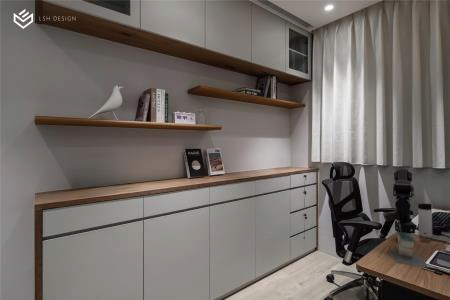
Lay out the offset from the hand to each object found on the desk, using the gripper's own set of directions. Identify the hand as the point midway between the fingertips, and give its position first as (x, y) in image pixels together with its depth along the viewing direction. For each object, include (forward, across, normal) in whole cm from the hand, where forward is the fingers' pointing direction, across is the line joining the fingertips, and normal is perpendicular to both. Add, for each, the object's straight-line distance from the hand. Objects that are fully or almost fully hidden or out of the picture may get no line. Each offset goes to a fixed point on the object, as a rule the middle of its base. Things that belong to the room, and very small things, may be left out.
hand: (403, 238), depth 120 cm
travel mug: (+8, -34, +18) cm, 40 cm away
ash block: (+6, 0, 0) cm, 7 cm away
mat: (+8, +5, 0) cm, 10 cm away
